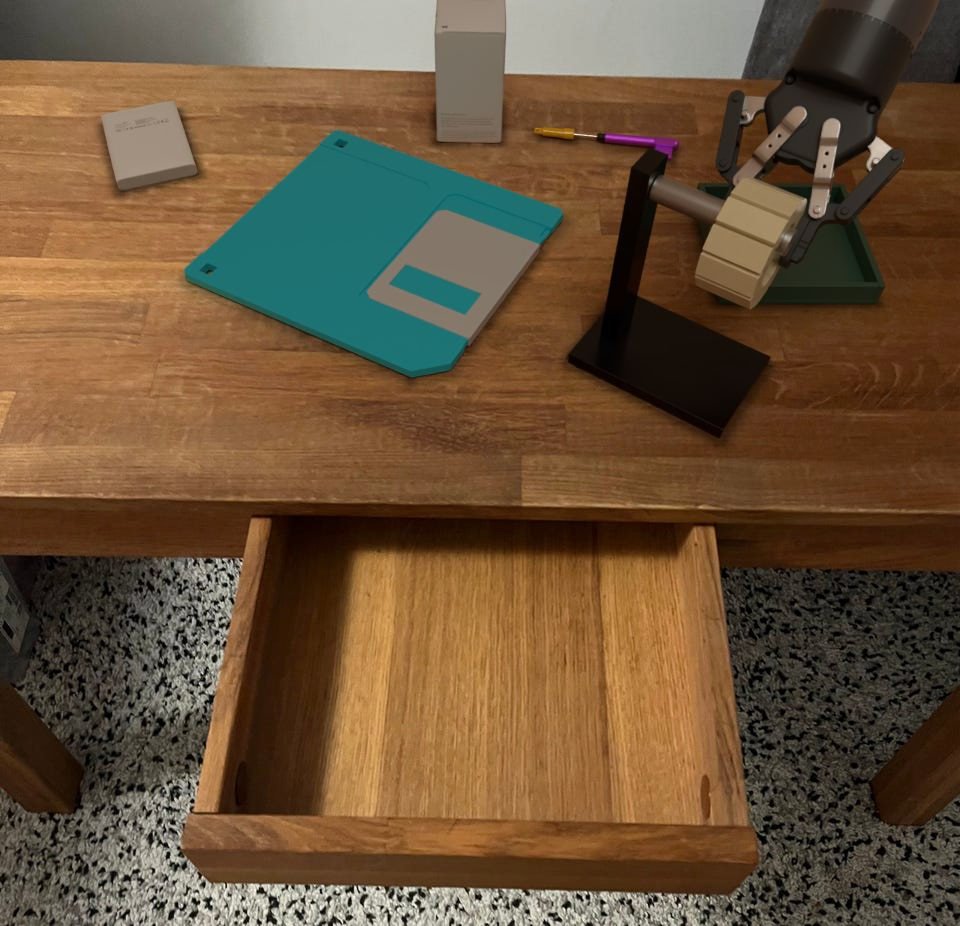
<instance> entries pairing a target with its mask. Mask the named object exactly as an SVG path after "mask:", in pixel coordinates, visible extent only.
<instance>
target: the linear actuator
mask: <svg viewBox="0 0 960 926" xmlns="http://www.w3.org/2000/svg"><path fill="white" fill-rule="evenodd" d="M575 132H576V129H575V128H568V127H563V128H561V127H552V126H551V127H550V126H543V127H534V131H533V134H535V135H542V137H549V138H559V139H563V140H571V141H574V139H575V136H577V137H585V138H586V137H587V138H596V141H598V142H604V143H607V144H608V143H609V144H610V143H611V144H617V145H628V146H639V147H649V148H653V149H655V150H658V151H661V152H663V153H666V154H668V160H667V161H670V162H671V160H672V155H673V152H674V150H677V149H678V148H679V146H680V141H679V140H678V139H675V138H672V137H664V136H663V137H662V136H654V137H652V136H643V135H633V134H624V133H623V134H622V133H613V132H612V133H611V132H606V133H605V132H604V133H602V132H598V133H597V134H596V135H595V134H594V135H593V134H585V133H584V134H583V133H575Z"/></svg>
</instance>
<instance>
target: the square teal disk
mask: <svg viewBox="0 0 960 926" xmlns="http://www.w3.org/2000/svg"><path fill="white" fill-rule="evenodd" d="M563 220H564V212H563V209H562V208H560V207H557V206H554V205H552V204H548V203H545V202H543V201H539V200H537V199H534V198H531V197H528V196H526V195H523V194H520V193H517V192H514V191H512V190H509V189H506V188H503V187H501V186H499V185H495V184H493V183H489V182H487V181H483V180H481V179H479V178H475V177H472V176H471V175H467V174H464V173H461V172H458V171H455V170H453V169H450V168H448V167H444V166H442V165H439V164H436V163H433V162H430V161H427V160H424V159H421V158H419V157H416V156H413V155H410V154H409V153H408V154H407V153H405V152H402V151H399V150H397V149H394V148H391V147H388V146H385V145H382V144H379V143H376V142H374V141H372V140H368V139H365V138H364V137H359V136H357V135H354V134H351V133H349V132H346V131H342V130H341V129H338V130H332V131H331V132H330V133H329V134H328V135H327V136H326V137H325V138H324V139H323V140H321V141H320V143H319V145H317V147H315V148H314V149H313V150H312V151H311V152H310V153H309V154H308V155H307V156H306V157H305V158H304V159H303V160H302V161H300V162H299V164H297V165H296V166H295V167H294V168H293V169H292V170H290V172H288V174H287V175H285V176H284V177H283V178H282V179H281V180H280V181H279V182H278V183H277V184H276V185H275V186H274V187H272V189H271V190H269V191H268V192H267V193H266V194H265V195H264V196H263V197H261V199H260V200H259V201H257V203H255V204H254V205H253V206H251V208H250V209H248V211H247V212H246V213H244V215H242V216H241V217H240V218H239V219H238V220H236V222H235V223H234V224H233V225H231V227H229V228H228V229H227V230H226V231H225V232H224V233H223V234H222V235H221V236H220V237H219V238H218V239H217V240H215V241H214V242H213V243H212V244H211V245H210V246H209V247H208V248H207V249H206V250H205V251H204V252H201V253H200V254H199V255H197V256H196V257H195V258H194V259H193V260H192V261H191V262H189V264H188V265H186V267H185V268H183V272H184V276H185V279H186V281H187V282H190V283H192V284H193V285H196V286H198V287H201V288H203V289H205V290H207V291H208V290H209V291H210V292H213V293H215V294H218V295H219V296H221V297H224V298H227V299H228V300H231V301H233V302H235V303H238V304H241V306H245V307H247V308H249V309H252V310H254V311H256V312H259V313H261V314H263V315H265V316H268V317H270V318H273V319H275V320H277V321H280V322H282V323H284V324H287V325H289V326H291V327H293V328H296V329H298V330H300V331H302V332H305V333H307V334H309V335H312V336H314V337H316V338H319V339H321V340H323V341H326V342H328V343H330V344H333V345H335V346H337V347H339V348H341V349H344V350H346V351H349V352H351V353H354V354H356V355H358V356H361V357H363V358H365V359H368V360H370V361H372V362H374V363H376V364H379V365H381V366H384V367H386V368H388V369H390V370H392V371H395V372H397V373H400V374H402V375H403V376H406V377H409V378H415V377H421V376H427V375H433V374H438V373H443V372H448V371H451V370H452V369H453V368H454V366H455V365H456V364H457V363H458V361H459V360H460V358H461V357H462V356H463V354H464V353H465V349H466V348H467V346H468V347H470V346H471V345H472V343H473V342H474V341H475V339H476V338H477V337H478V336H479V334H480V333H481V331H482V330H483V329H484V327H485V326H486V325H487V323H488V322H489V320H491V318H492V317H493V315H494V314H495V312H496V311H497V310H498V308H499V307H500V306H501V304H502V303H503V302H504V301H505V299H506V298H507V297H508V295H509V294H510V293H511V291H512V290H513V289H514V287H515V286H516V284H517V283H518V281H519V280H520V279H521V278H522V276H524V274H525V272H526V271H527V270H528V268H529V267H530V266H531V264H532V263H533V262H534V260H535V259H536V257H537V256H538V255H539V254H540V251H541V247H542V246H543V244H544V243H545V242H546V240H547V239H549V238H548V237H549V236H550V235H551V236H552V235H553V234H554V233H555V231H556V230H557V229H558V227H559V226H560V224H561V223H562V222H563ZM209 271H211V272H210V273H209V274H208V272H209Z"/></svg>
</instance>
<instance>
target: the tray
mask: <svg viewBox="0 0 960 926" xmlns="http://www.w3.org/2000/svg"><path fill="white" fill-rule="evenodd" d="M766 183H767V184H770V185H773V186H775V187H778V188H780V189H783V190H785V191H788V192H790V193H793V194H795V195H798V196H801V197H803V198H806V199H807V203H806V208H805V212H804V217H805V215H806V213H807V211H808V209H809V204H810V199H811V193H812V187H813V182H807V183H806V182H798V183H797V182H794V183H793V182H766ZM696 189H698V190H700V191H703V192H705V193H708V194H710V195H713V196H715V197H718V198H720V199H722V200H724V198H725V196H726V194H727V192H728V190H729V183H728V182H698V183H697V186H696ZM849 194H850V193H849V191H848V189H847V187H846V184H845V183H843V182H840V183H837V182H835V183H834V182H833V186H832V191H831V195H830V201H829V203H836V204H841V203H842V201H843V200H844V199H845V198H846V197H847V196H848V195H849ZM858 216H859V215H858ZM858 216H857V217H856V218H855V219H854V220H853V221H852V222H851V223H850V224H848V225H846V226H842V225H840V224H825V225H823V226H822V227H820V229H819V230H818V232H817V234H816V236H815V238H814V239H813V241H812V243H811V245H810V247H809V249H808V251H807V253H806V255H805V256H804V258H803V260H802V261H801V262H799V263H798V264H795V263H793V262H791V264H790V266H789V268H788V269H786V268H783V267H780V268H779V270H778V272H777V274H776V276H775V277H774V279H773V281H772V283H771V284H770V286H769V287H768V289H767V291H766V292H765V294H764V295H763V297H762V298H761V300H760V301H759V303H758V304H757V305H876V304H877V303H878V302H879V300H880V298H881V296H882V294H883V292H884V291H885V289H886V284H885V281H884V279H883V276H882V273H881V271H880V269H879V266H878V264H877V261H876V258H875V256H874V254H873V252H872V249H871V246H870V244H869V242H868V239H867V236H866V233H865V231H864V228H863V226H862V224H861V222H860V219H859V217H858ZM698 226H699V230H700V234H701V237H702V242H703V245H704V244H705V242H706V239H707V237H708V235H709V232H710V230H711V228H712V226H710V225H707V224H705V223H703V222H700V221H698ZM715 297H716V300H717V304H718V305H737V304H736V303H734V302H732V301H729V300H727V299H725V298H723V297H720V296H718V295H716V294H715Z"/></svg>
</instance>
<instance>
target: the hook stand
mask: <svg viewBox="0 0 960 926" xmlns="http://www.w3.org/2000/svg"><path fill="white" fill-rule="evenodd" d="M653 148H654V147H649V148H648V149H647V150H646V151H645V152H644V153H643V154H642V155H641V156H640V157H639V158H638V159H637V161H635V162H634V163H633V164H632V165H631V167H630V170H629V176H628V182H627V187H626V193H625V199H624V204H623V207H622V209H623V210H622V214H621V220H620V225H619V231H618V236H617V241H616V247H615V252H614V258H613V264H612V269H611V275H610V280H609V285H608V290H607V296H606V302H605V308H604V311H603V312H602V313H601V314H600V316H599V317H598V318H597V319H596V320H595V321H594V323H593V324H592V325H591V327H590V328H588V330H587V331H586V333H585V334H584V335H583V337H581V339H580V340H579V341H578V342H577V343H576V344H575V346H573V348H572V349H571V350H570V351H569V353H568V356H567V363H568V364H570V365H573V366H574V367H576V368H578V369H579V370H582V371H584V372H586V373H589V374H590V375H592V376H594V377H596V378H599V379H600V380H602V381H604V382H607V383H608V384H610V385H613V386H614V387H616V388H618V389H620V390H623V391H624V392H626V393H629V394H630V395H631V396H634V397H636V398H638V399H641V400H642V401H644V402H646V403H648V404H650V405H652V406H654V407H656V408H658V409H660V410H661V411H664V412H666V413H668V414H670V415H672V416H674V417H676V418H678V419H680V420H681V421H684V422H686V423H688V424H690V425H692V426H694V427H696V428H698V429H700V430H702V431H704V432H705V433H708V434H710V435H712V436H713V437H716V438H718V439H720V438H722V436H723V435H724V433H725V432H726V430H727V428H728V427H729V426H730V424H731V422H732V421H733V419H734V417H735V416H736V415H737V413H738V411H739V410H740V408H741V407H742V405H743V404H744V402H745V401H746V399H747V397H749V395H750V393H751V392H752V390H753V388H754V387H755V385H756V384H757V382H758V381H759V379H760V378H761V376H762V374H763V373H764V372H765V370H766V368H767V367H768V365H769V363H770V361H771V358H772V357H771V356H770V355H768V354H766V353H764V352H761V351H759V350H757V349H755V348H753V347H750V346H749V345H746V344H744V343H742V342H740V341H737V340H735V339H733V338H730V337H729V336H727V335H724V334H723V333H720V332H718V331H715V330H713V329H711V328H709V327H707V326H705V325H703V324H700V323H699V322H696V321H694V320H692V319H691V318H690V319H689V318H687V317H686V316H683V315H681V314H679V313H677V312H674V311H672V310H670V309H668V308H665V307H663V306H662V305H659V304H657V303H655V302H653V301H651V300H648V299H646V298H644V297H641V296H640V295H638V294H639V290H640V285H641V280H642V276H643V272H644V267H645V263H646V259H647V254H648V250H649V245H650V240H651V237H652V231H653V226H654V222H655V218H656V213H657V209H658V205H660V206H661V207H662V206H663V207H664V208H667V209H670V210H672V211H674V212H677V213H678V214H681V215H684V216H686V217H689V218H691V219H693V220H696V221H698V222H699V221H700V222H703V223H705V224H707V225H710V226H713V224H716V218H717V216H718V214H719V212H720V210H721V209H722V207H723V205H724V203H725V202H726V201H725V200H722V199H720V198H718V197H715V196H713V195H710V194H708V193H705V192H703V191H700V190H698V189H697V188H695V187H693V186H691V185H688V184H685V183H683V182H681V181H679V180H675V179H673V178H671V177H669V176H665V174H666V173H665V172H666V169H667V168H666V167H667V164H668V161H669V160H668V154H666V153H663V152H661V151H658V150H655V149H653ZM797 232H798V230H796V229H794V228H791V227H790V228H789V229H788V230H787V232H786V233H785V235H784V237H783V238H782V240H781V242H780V244H779V246H778V247H777V249H776V251H775V253H777V254H779V255H781V256H786V255H787V253H788V252H789V250H790V248H791V247H792V245H793V243H794V241H795V238H796V236H797Z"/></svg>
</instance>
